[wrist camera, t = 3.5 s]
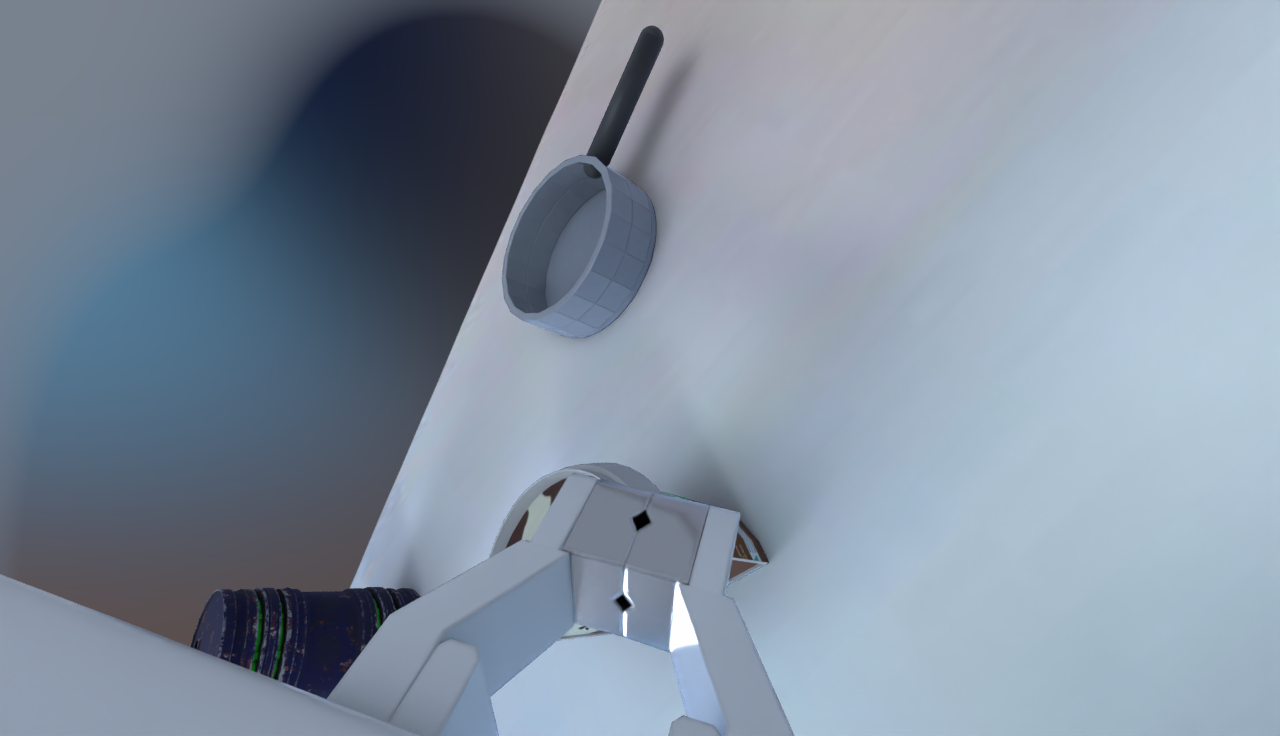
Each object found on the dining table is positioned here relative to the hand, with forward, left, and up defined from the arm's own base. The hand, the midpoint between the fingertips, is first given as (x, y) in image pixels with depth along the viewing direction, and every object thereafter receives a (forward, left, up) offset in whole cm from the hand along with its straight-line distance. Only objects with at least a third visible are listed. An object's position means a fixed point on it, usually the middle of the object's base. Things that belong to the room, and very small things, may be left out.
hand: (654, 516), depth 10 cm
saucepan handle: (-16, -32, -16) cm, 39 cm away
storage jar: (+34, -35, -18) cm, 52 cm away
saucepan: (-5, -32, -18) cm, 37 cm away
